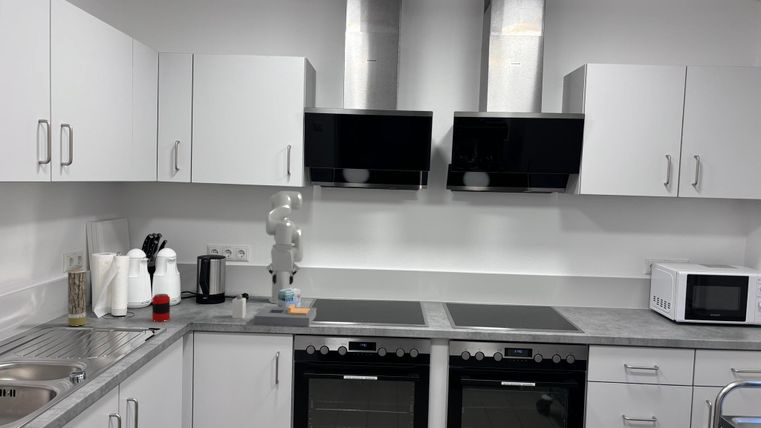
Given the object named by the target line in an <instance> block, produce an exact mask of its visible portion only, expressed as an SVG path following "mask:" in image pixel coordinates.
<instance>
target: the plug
mask: <svg viewBox="0 0 761 428" xmlns="http://www.w3.org/2000/svg"><path fill="white" fill-rule="evenodd" d="M246 302H247V298H246V297H243V294H237V295H236V297H235V298H233V299H232V313H231V314H232V315H231V317H232V319H245V318H244V317H246V311H247V310H246V307H247V305H246V304H247V303H246Z"/></svg>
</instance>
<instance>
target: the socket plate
mask: <svg viewBox="0 0 761 428" xmlns="http://www.w3.org/2000/svg"><path fill="white" fill-rule="evenodd" d="M294 308H306V307H304V306H300V307H294ZM307 308H308V309H310V310H309V312H308V313H307V314H306V315H302V314H288V307H279V306H278V305H276V306H275V305H265V306H264V307H263V308H261V309H260V310H259V311H258V312H256V313H255V315H253V325H258V326H259V325H261V326H262V325H267V326H286V327H287V326H288V327H289V326H290V327H292V326H293V327H310V326H311V324H312V323H313V321H314V320H315V318H316V316H317V307H307Z"/></svg>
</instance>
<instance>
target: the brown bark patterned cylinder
mask: <svg viewBox="0 0 761 428" xmlns="http://www.w3.org/2000/svg"><path fill="white" fill-rule="evenodd" d="M86 274H87V273H86V269H84V268H77V269H75V268H74V269H69V270H67V298H68V299H67V309H68V310H67V313H68V314H67V317H68V318H67V319H68V320H67V322H68V323H67V324H68V326H69V325H71V326H76V325H82V324H85V323H87V321H86V320H87V317H86V316H87V310H86V309H87V307H86V306H87V303H86V301H87V300H86V299H87V298H86V295H87V294H86V291H87V289H86V287H87V285H86V281H87V280H86V279H87V278H86ZM85 325H86V324H85Z"/></svg>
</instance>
